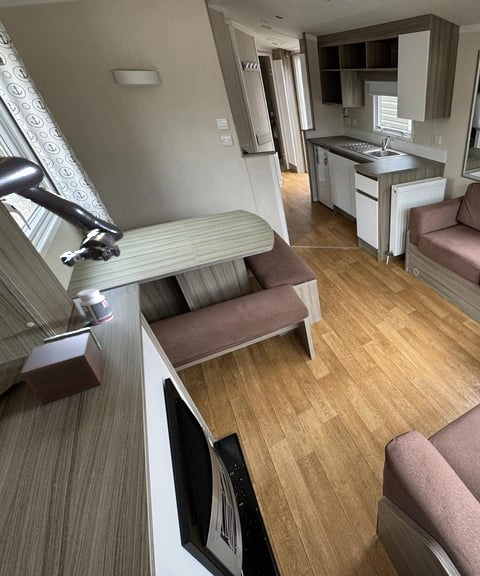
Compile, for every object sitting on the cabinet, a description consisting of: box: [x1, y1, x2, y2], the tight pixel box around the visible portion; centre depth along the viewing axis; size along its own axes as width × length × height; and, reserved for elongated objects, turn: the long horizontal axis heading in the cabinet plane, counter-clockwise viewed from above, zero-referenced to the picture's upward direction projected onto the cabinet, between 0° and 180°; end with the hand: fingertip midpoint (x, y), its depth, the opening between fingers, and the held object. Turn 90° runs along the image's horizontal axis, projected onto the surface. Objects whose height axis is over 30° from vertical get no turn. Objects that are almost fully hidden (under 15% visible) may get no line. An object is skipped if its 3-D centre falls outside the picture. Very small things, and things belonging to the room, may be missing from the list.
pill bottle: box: [76, 287, 114, 325], centre depth 92 cm, size 6×6×10 cm
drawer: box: [42, 326, 103, 352], centre depth 73 cm, size 11×8×7 cm
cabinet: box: [20, 333, 105, 405], centre depth 69 cm, size 11×10×9 cm
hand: (87, 261), depth 95 cm, fingers open, 8 cm apart
